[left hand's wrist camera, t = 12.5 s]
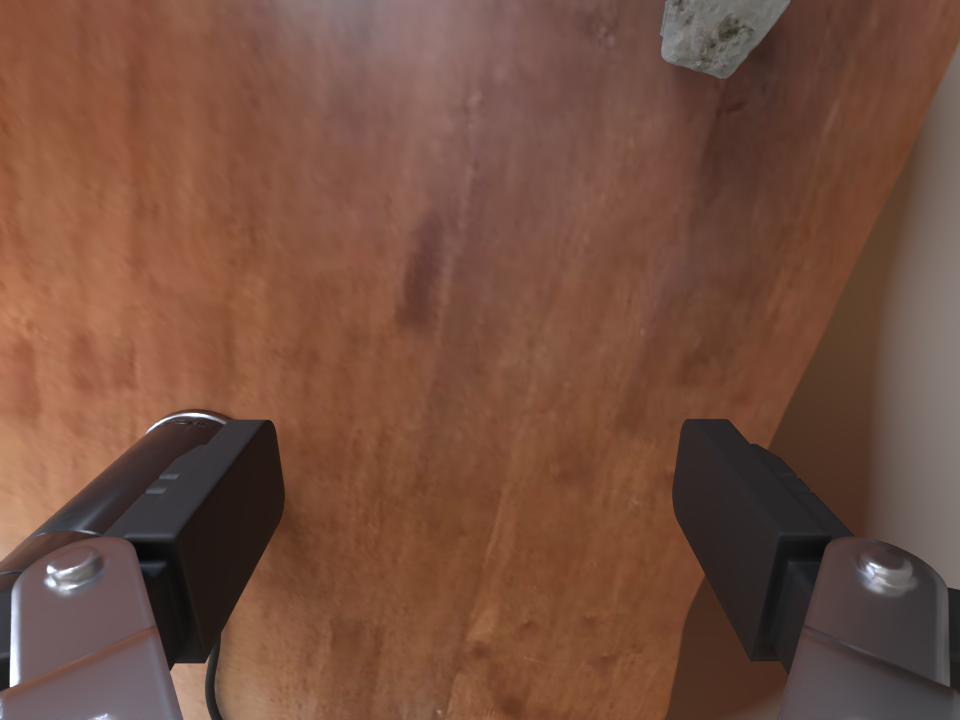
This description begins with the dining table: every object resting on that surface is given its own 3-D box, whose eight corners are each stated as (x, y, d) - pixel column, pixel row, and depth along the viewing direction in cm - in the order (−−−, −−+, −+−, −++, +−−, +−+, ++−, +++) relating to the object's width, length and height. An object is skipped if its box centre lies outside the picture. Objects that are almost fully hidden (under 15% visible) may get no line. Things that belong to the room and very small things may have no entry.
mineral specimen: (625, -71, 31) (710, -136, 24) (755, -30, 33) (870, -78, 26) (593, 75, 33) (663, 57, 26) (717, 104, 36) (813, 95, 28)
